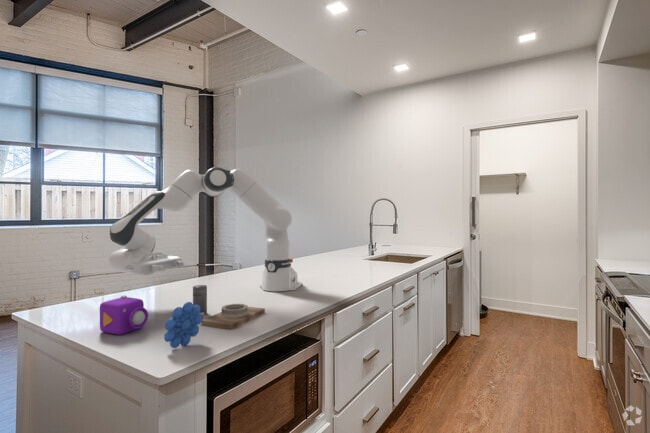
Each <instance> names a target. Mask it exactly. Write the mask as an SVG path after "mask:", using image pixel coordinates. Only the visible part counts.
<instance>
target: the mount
mask: <svg viewBox="0 0 650 433" xmlns="http://www.w3.org/2000/svg"><path fill="white" fill-rule="evenodd" d="M265 310H266V309H265V308H264V307H254V306H248V304H245V303H230V304H226V305H222V307H221V312H217V313H216V314H213V315H211V316H209V317H205V318H203V320H202V322H201V323H200V325H201V326H206V327H214V328H219V329H220V328H221V329H225V330H233V329H236V328H237V327H239V326H241V325H243V324H245V323H247V322H249V321H251V320H253V319H255V318H257V317H259V316H261V315H263V314H265V313H266V311H265Z"/></svg>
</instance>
